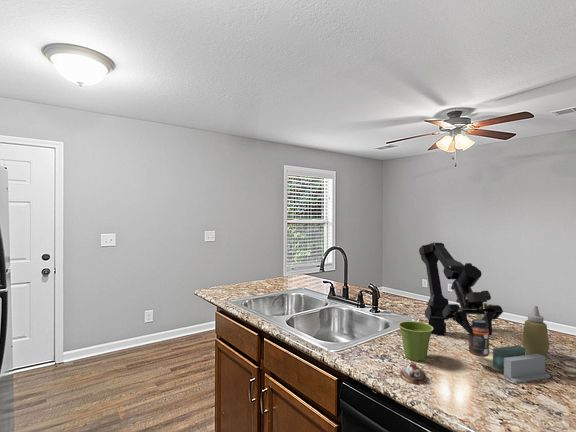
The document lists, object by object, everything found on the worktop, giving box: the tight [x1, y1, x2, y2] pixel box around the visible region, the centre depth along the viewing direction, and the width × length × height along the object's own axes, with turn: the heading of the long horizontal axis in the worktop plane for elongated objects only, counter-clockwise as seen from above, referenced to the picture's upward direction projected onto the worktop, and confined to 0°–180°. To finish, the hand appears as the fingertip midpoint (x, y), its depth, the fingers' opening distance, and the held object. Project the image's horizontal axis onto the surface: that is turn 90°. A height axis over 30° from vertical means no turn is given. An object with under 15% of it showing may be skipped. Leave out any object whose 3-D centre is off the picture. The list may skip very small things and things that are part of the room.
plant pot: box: [397, 320, 433, 362], centre depth 116 cm, size 12×12×11 cm
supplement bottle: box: [468, 318, 490, 357], centre depth 109 cm, size 6×6×11 cm
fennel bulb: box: [475, 302, 493, 319], centre depth 148 cm, size 6×5×12 cm
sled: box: [471, 344, 526, 373], centre depth 113 cm, size 11×11×7 cm
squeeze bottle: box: [521, 305, 550, 357], centre depth 120 cm, size 8×8×18 cm
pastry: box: [400, 362, 427, 385], centre depth 101 cm, size 8×8×5 cm
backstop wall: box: [503, 354, 551, 384], centre depth 102 cm, size 4×14×6 cm, turn 105°
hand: (481, 335), depth 108 cm, fingers closed on supplement bottle, 6 cm apart
